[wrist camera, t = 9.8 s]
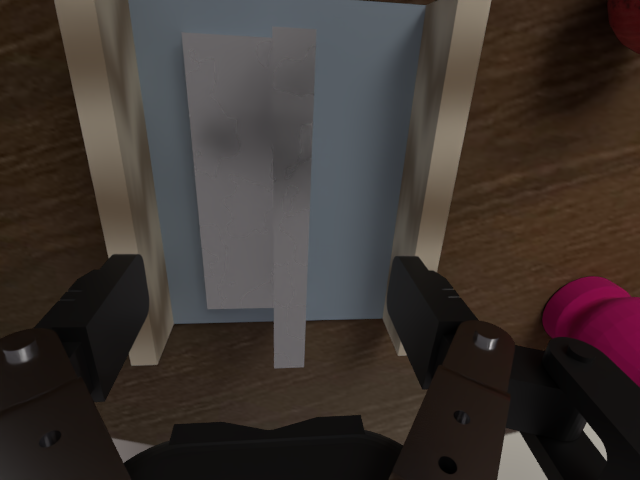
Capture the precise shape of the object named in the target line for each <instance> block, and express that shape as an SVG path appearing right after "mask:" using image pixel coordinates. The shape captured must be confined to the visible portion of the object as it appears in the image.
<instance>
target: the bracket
mask: <svg viewBox="0 0 640 480" xmlns="http://www.w3.org/2000/svg"><path fill="white" fill-rule="evenodd" d="M316 30H317V29H304V28H289V27H273V26H272V38H268V37H251V36H234V35H218V34H201V33H184V32H181V33H182V44H183V54H184V65H185V76H186V86H187V97H188V108H189V118H190V129H191V140H192V150H193V161H194V172H195V182H196V193H197V204H198V214H199V225H200V236H201V246H202V257H203V268H204V278H205V289H206V300H207V309H241V308H274V368H295V367H304V352H305V326H306V299H307V272H308V245H309V218H310V191H311V165H312V138H313V111H314V84H315V57H316Z"/></svg>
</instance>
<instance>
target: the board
mask: <svg viewBox="0 0 640 480" xmlns="http://www.w3.org/2000/svg"><path fill="white" fill-rule="evenodd" d="M128 3H129V10H130V17H131V24H132V31H133V38H134V45H135V52H136V59H137V66H138V73H139V80H140V88H141V95H142V102H143V109H144V116H145V123H146V130H147V137H148V144H149V151H150V158H151V165H152V172H153V179H154V187H155V194H156V201H157V208H158V215H159V222H160V229H161V236H162V243H163V250H164V257H165V264H166V271H167V279H168V286H169V293H170V300H171V307H172V314H173V321H174V324H186V323H224V322H263V321H274V308H241V309H207V300H206V289H205V278H204V268H203V257H202V246H201V236H200V225H199V214H198V204H197V193H196V182H195V172H194V161H193V150H192V140H191V129H190V118H189V108H188V97H187V86H186V76H185V65H184V54H183V44H182V33H181V32H184V33H201V34H218V35H234V36H251V37H268V38H272V26H273V27H289V28H304V29H317V30H316V57H315V84H314V111H313V138H312V165H311V191H310V218H309V245H308V272H307V299H306V320H341V319H380V318H383V310H384V303H385V296H386V289H387V282H388V275H389V267H390V260H391V253H392V246H393V239H394V232H395V225H396V217H397V210H398V203H399V196H400V189H401V182H402V174H403V167H404V160H405V153H406V146H407V139H408V132H409V124H410V117H411V110H412V103H413V96H414V89H415V81H416V74H417V67H418V60H419V53H420V46H421V38H422V31H423V24H424V17H425V10H426V5H414V4H400V3H386V2H373V1H359V0H128Z"/></svg>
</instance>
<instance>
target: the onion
mask: <svg viewBox="0 0 640 480" xmlns="http://www.w3.org/2000/svg"><path fill="white" fill-rule="evenodd" d="M607 9H608V17H609V24H610V26H611V28H612V29H613V31H614V33H615V35H616V37H617V38H618V40H619V41H620V42H621V43H622V44H623V45H624V46H626V47H628V48H629V49H631V50H633V51H634V52H636V53H638V54H640V0H608V2H607Z"/></svg>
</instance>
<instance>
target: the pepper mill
mask: <svg viewBox="0 0 640 480" xmlns="http://www.w3.org/2000/svg"><path fill="white" fill-rule="evenodd" d="M542 321H543V327H544V329H545V331H546V332H547V334H548V335H549V336H550V337H551V338H552V339H553V338H556V337H569V338H574V339H578V340H580V341H583V342H586V343H588V344H590V345H592V346H594V347H595V348H597V349H599V350H600V351H601V352H603V353H604V354H605V355H606V356H607V357H608V358H610V359H611V360H612V361H613V362H614V363H615V364H616V365H617V366H618V367H619V368H620V369H621V370H622V371H623V372H624V373H625V374H626V375H627V376H628V377H629V378H630V379H631V380H632V381H634V382H635V383H636V384H637V385H638V386H639V387H640V298H639V297H631V296H630V295H629V294H628V293H627V292H626V291H625V290H624V289H622V288H620V287H619V286H617V285H616V284H614V283H613V282H611V281H609V280H607V279H606V278H602V277H594V276H590V277H584V278H579V279H577V280H575V281H572V282H570V283H568V284H567V285H565V286H563V287H562V288H561V289H559V290H558V291H557V292H556V293H555V294H554V295H553V296H552V298H551V299H550V300H549V302H548V303H547V305H546V307H545V310H544V312H543V318H542Z"/></svg>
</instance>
